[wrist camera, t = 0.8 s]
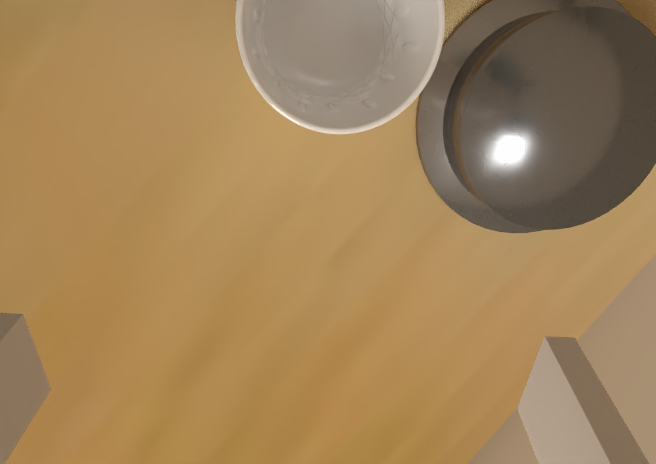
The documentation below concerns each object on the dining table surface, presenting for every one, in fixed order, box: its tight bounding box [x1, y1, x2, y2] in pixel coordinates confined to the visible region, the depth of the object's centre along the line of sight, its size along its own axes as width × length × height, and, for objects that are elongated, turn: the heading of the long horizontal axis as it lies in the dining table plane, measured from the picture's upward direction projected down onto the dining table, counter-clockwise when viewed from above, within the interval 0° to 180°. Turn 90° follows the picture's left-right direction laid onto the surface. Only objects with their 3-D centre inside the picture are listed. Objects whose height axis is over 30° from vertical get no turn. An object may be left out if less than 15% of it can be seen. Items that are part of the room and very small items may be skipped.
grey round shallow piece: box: [416, 0, 656, 233], centre depth 28 cm, size 15×15×4 cm
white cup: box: [235, 0, 445, 134], centre depth 23 cm, size 8×8×10 cm
